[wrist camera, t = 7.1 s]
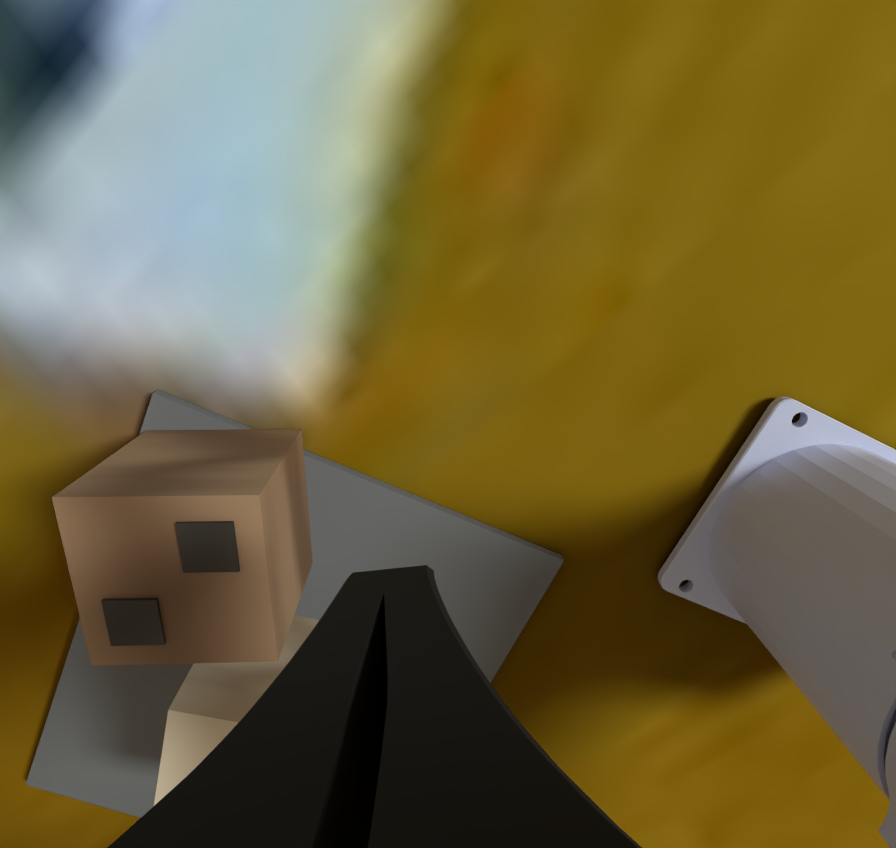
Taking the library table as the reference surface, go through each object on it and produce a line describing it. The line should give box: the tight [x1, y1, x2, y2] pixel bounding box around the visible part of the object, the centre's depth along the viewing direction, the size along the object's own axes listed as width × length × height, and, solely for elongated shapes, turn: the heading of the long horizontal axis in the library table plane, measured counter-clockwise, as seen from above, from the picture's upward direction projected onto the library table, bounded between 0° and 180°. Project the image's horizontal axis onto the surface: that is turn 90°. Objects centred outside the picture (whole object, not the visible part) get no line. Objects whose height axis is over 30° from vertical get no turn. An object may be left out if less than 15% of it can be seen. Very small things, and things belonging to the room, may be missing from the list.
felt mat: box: [26, 390, 564, 818], centre depth 22 cm, size 15×18×1 cm
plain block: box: [154, 615, 319, 806], centre depth 20 cm, size 5×5×5 cm
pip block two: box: [52, 429, 313, 665], centre depth 17 cm, size 5×5×5 cm
